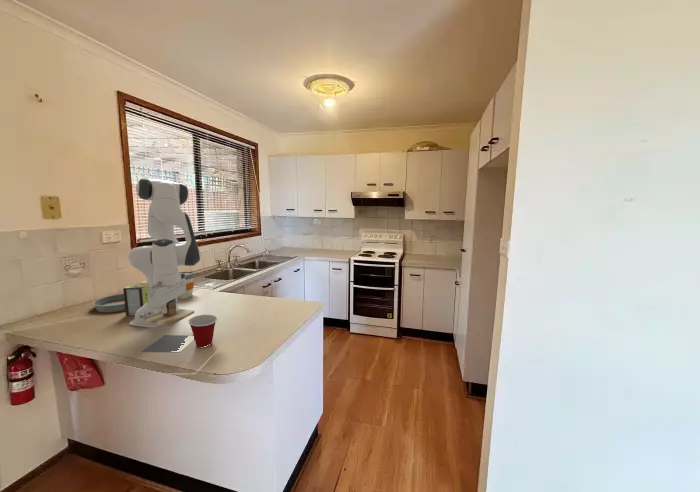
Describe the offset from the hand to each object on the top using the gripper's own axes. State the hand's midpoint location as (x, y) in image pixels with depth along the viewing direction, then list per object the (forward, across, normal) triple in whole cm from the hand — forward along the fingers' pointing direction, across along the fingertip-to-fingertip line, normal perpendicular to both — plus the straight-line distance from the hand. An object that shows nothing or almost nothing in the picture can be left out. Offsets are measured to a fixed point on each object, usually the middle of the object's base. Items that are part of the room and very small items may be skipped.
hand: (169, 310), depth 122 cm
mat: (+15, -1, -1) cm, 15 cm away
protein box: (+17, +37, +38) cm, 56 cm away
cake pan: (+18, +44, +58) cm, 76 cm away
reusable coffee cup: (+18, +63, +32) cm, 73 cm away
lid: (+3, 0, 0) cm, 3 cm away
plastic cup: (+15, -2, -15) cm, 21 cm away
